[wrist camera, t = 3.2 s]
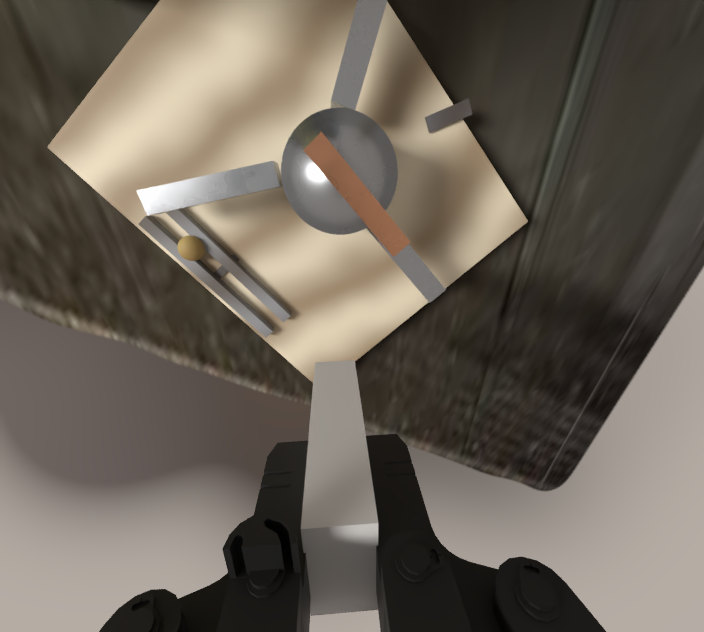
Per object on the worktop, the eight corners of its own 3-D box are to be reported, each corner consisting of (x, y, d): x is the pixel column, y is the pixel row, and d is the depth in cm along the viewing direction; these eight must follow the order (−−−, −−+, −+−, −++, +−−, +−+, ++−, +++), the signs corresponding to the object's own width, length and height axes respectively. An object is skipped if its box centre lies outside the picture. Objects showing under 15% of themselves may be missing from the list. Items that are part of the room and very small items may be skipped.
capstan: (163, 197, 23) (93, 201, 16) (380, -43, 19) (408, -173, 12) (330, 355, 28) (331, 409, 21) (526, 192, 24) (603, 194, 18)
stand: (69, 150, 23) (23, 143, 20) (299, -141, 19) (292, -216, 15) (321, 377, 32) (319, 401, 28) (523, 211, 27) (552, 215, 24)
